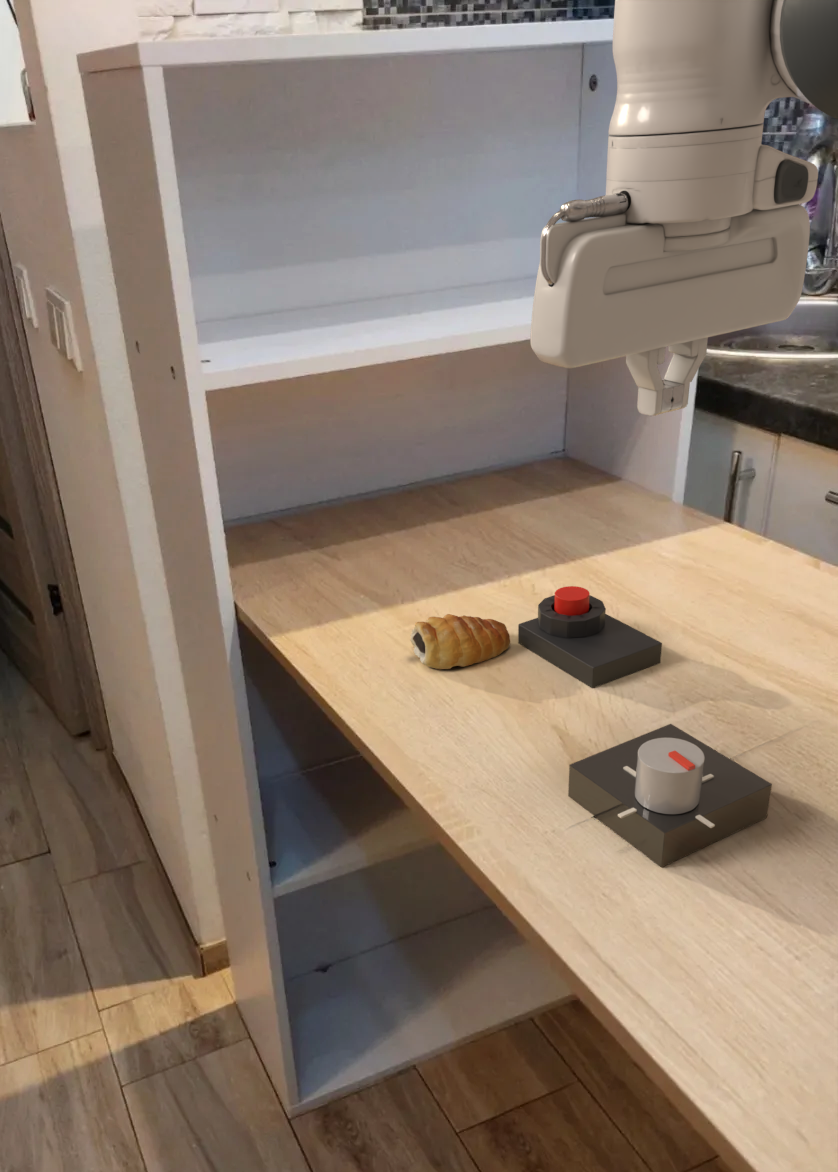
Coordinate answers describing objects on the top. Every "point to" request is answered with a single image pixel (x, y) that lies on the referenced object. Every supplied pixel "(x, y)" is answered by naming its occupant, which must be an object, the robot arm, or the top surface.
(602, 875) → the top surface
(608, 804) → the hob console
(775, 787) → the top surface
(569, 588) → the button
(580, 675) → the box
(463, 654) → the pastry
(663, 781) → the hob knob
